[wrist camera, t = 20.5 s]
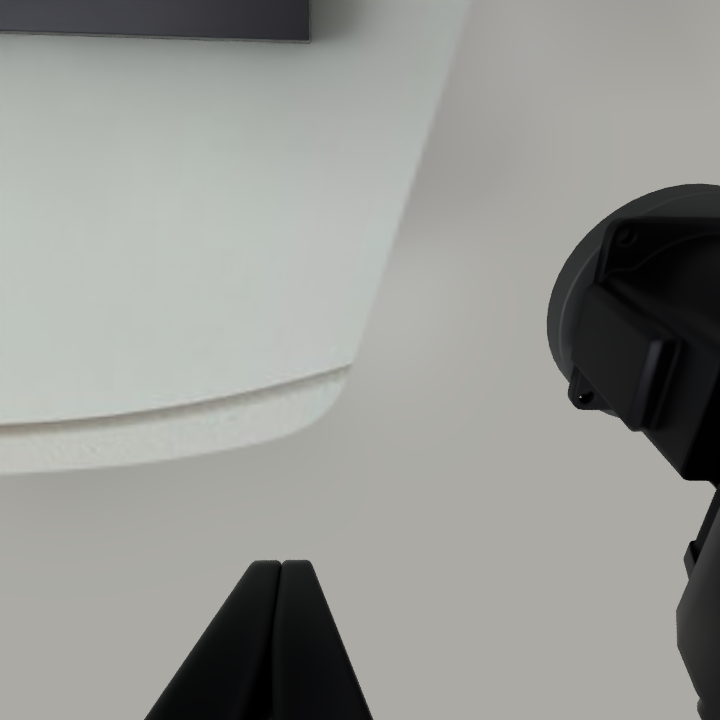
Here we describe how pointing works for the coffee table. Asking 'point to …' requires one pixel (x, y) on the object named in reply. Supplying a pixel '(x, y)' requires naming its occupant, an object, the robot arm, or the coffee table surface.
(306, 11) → the control block
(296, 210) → the coffee table surface
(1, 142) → the coffee table surface
